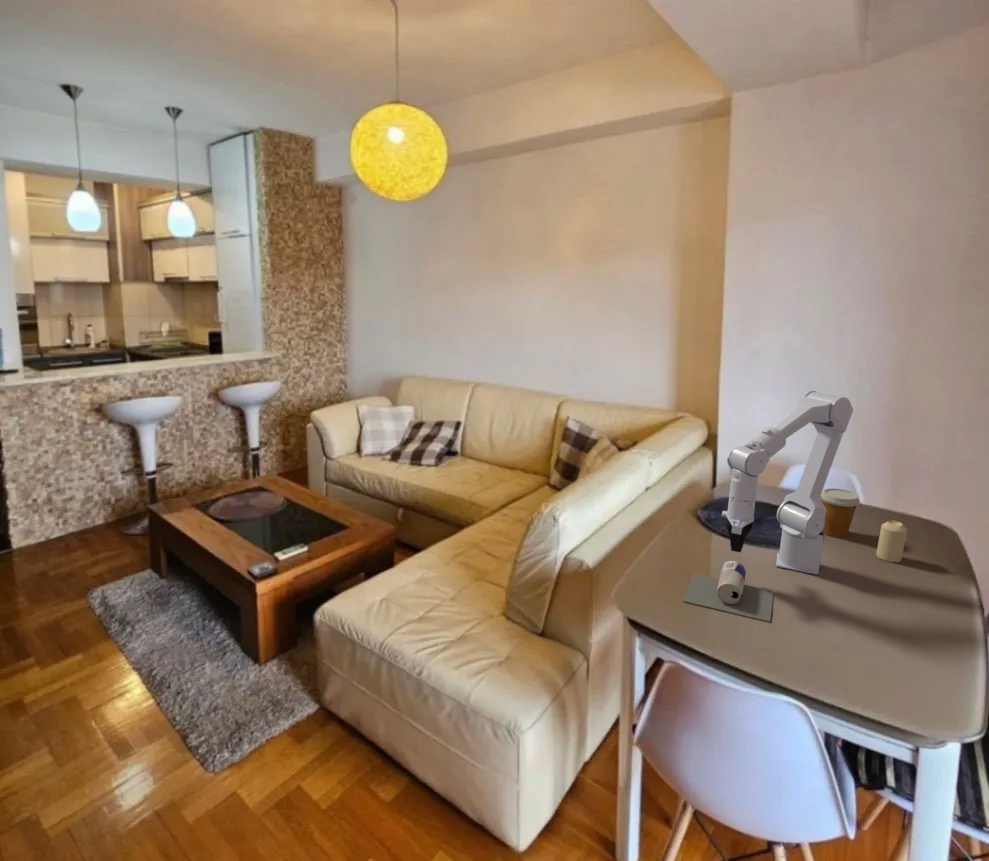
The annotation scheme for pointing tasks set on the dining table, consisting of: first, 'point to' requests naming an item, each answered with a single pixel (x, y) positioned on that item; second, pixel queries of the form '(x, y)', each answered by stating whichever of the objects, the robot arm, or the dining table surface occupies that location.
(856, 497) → the disposable coffee cup
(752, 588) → the rubber mat
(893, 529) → the candle
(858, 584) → the dining table surface
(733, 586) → the energy drink
